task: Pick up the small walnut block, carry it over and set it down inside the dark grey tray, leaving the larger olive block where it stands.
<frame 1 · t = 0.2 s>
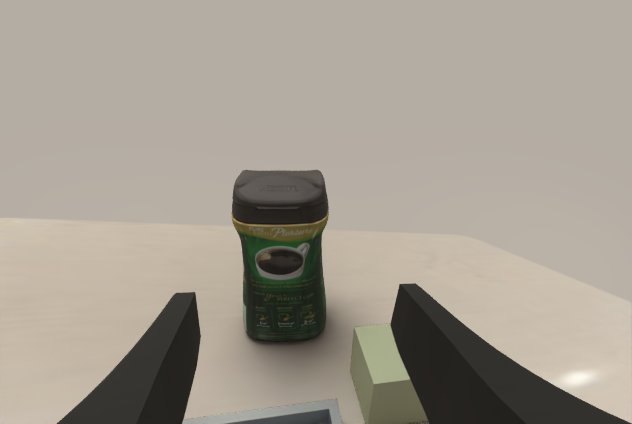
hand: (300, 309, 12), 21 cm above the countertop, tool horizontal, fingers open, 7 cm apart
olive block: (388, 394, 33), on the countertop
coffee jar: (284, 320, 41), on the countertop
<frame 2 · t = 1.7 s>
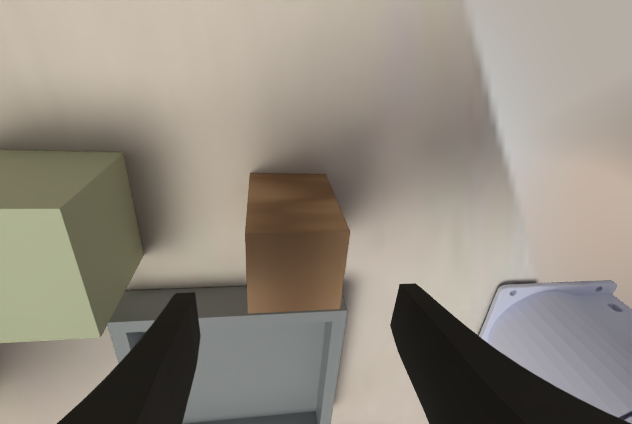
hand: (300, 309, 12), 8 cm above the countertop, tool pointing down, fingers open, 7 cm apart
walnut block: (287, 207, 19), on the countertop
grey tray: (240, 358, 24), on the countertop
olive block: (72, 206, 18), on the countertop
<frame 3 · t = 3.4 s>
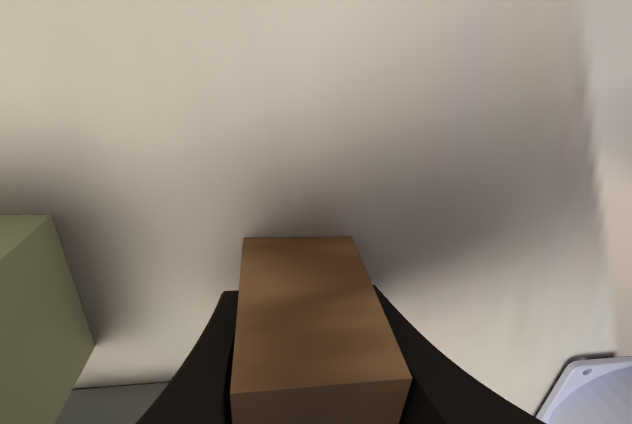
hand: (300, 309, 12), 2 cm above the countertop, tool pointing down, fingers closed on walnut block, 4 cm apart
walnut block: (296, 280, 14), on the countertop, touching gripper
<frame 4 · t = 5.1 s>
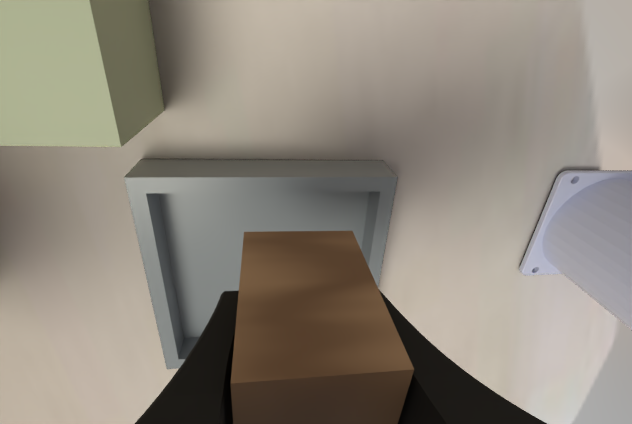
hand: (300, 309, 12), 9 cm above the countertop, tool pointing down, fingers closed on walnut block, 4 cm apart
walnut block: (297, 274, 13), point 7 cm above the countertop, touching gripper
grey tray: (269, 257, 22), on the countertop
olive block: (82, 38, 15), on the countertop
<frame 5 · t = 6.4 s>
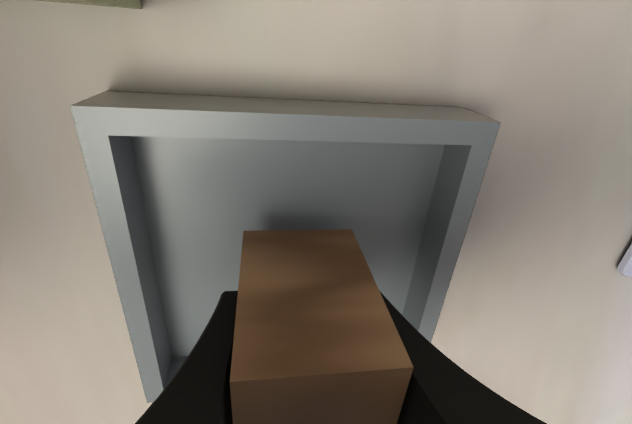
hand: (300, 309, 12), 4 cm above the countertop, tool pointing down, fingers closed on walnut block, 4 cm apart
walnut block: (296, 273, 13), point 2 cm above the countertop, touching gripper
grey tray: (292, 247, 16), on the countertop
when the fingers open (4 cm above the countertop, at t = 7.1 s): walnut block drops 1 cm, resting on grey tray.
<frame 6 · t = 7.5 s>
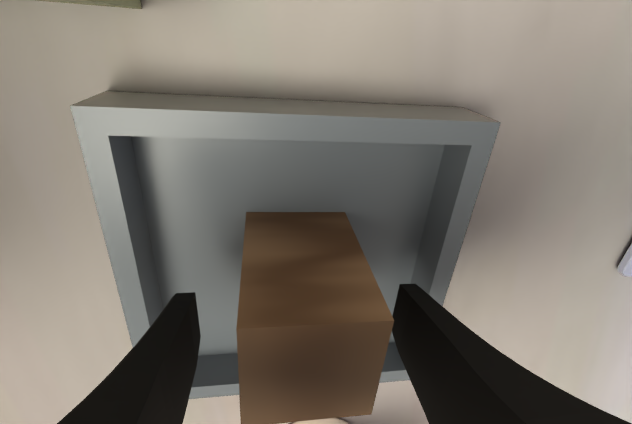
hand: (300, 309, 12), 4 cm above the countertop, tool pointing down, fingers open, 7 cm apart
walnut block: (294, 253, 15), point 1 cm above the countertop, touching grey tray
grey tray: (292, 247, 16), on the countertop
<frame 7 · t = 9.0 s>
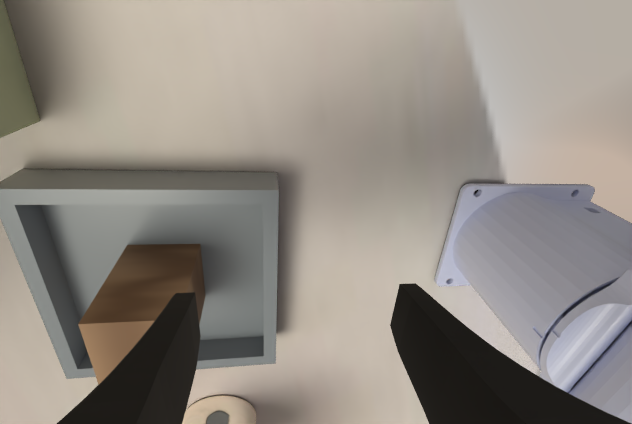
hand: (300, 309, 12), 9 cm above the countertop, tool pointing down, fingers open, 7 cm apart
walnut block: (168, 271, 21), point 1 cm above the countertop, touching grey tray
grey tray: (171, 267, 22), on the countertop
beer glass: (220, 414, 29), on the countertop
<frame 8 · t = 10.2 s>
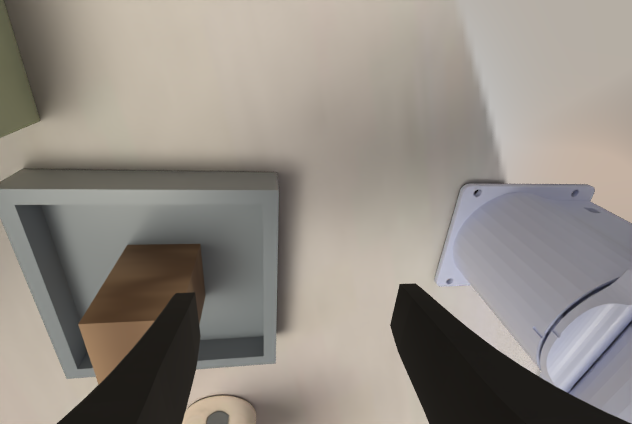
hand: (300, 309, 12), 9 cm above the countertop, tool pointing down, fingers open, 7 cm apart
walnut block: (168, 271, 21), point 1 cm above the countertop, touching grey tray
grey tray: (171, 267, 22), on the countertop
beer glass: (220, 414, 29), on the countertop
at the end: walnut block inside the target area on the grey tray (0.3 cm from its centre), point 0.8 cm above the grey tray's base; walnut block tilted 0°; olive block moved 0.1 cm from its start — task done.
